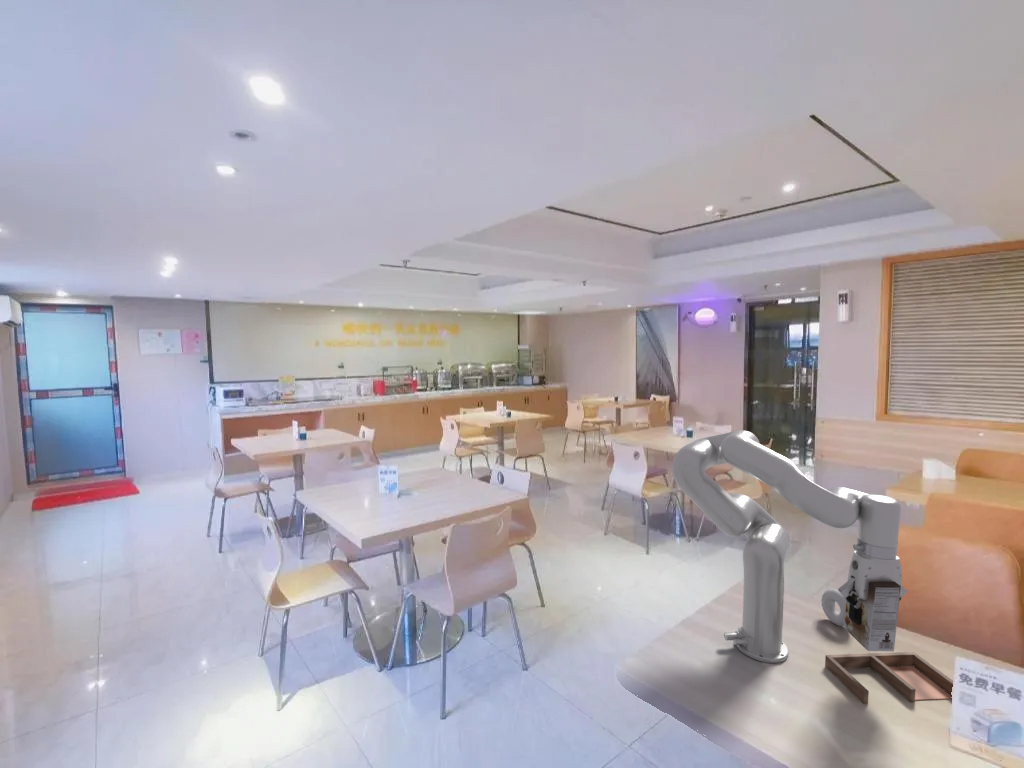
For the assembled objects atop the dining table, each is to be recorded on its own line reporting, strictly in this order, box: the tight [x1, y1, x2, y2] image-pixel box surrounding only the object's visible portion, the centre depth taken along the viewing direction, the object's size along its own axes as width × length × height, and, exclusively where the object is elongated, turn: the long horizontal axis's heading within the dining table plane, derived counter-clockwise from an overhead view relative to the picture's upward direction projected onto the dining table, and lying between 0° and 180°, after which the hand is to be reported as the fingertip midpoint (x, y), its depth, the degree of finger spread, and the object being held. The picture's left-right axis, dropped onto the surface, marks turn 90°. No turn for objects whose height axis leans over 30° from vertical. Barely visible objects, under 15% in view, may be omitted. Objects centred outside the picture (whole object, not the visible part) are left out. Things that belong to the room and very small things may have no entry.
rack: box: [824, 651, 954, 705], centre depth 119 cm, size 23×13×3 cm, turn 93°
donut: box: [820, 588, 846, 627], centre depth 143 cm, size 10×4×10 cm, turn 12°
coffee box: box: [843, 566, 901, 652], centre depth 117 cm, size 9×6×16 cm
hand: (869, 620), depth 118 cm, fingers closed on coffee box, 6 cm apart
